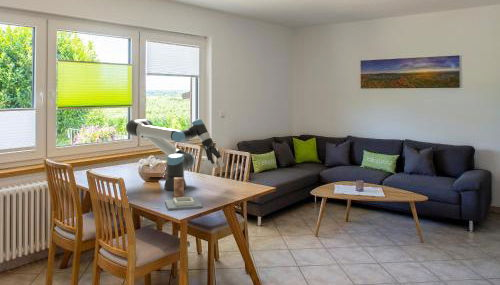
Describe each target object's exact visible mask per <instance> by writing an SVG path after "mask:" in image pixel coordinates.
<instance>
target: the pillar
mask: <svg viewBox="0 0 500 285" xmlns="http://www.w3.org/2000/svg"><path fill="white" fill-rule="evenodd" d="M184 179H185V178H184ZM184 179H183V177H175V178H174V191H173V196H174V197H173V198H177V197H185V189H184Z"/></svg>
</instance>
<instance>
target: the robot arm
mask: <svg viewBox="0 0 500 285" xmlns="http://www.w3.org/2000/svg"><path fill="white" fill-rule="evenodd" d="M125 129H126V132H127V133H128V135H130V136H132V137H133V136H134V137H140V138H142V139H143V140H147V141H149V142H150V143H151V144H153V145H154V146H155V147H156V148H157V149H159V150H160V151H161V152H163V153H164V154H165V155H166V156H167V157H166V163H167V178H165V181H164V182H165V183H164V190H166V191H171V192H172V191H173V192H174V178H175V177H183V179H184V190H186V189H187V182H186V179H185V171H187V170H190V169H191V168H193V167H194V165H195V156H194V155H193V154H192V153H191V152H186V151H185V150H183V149H182V148H180V149H179V148H178V147H176V146H175V145H174V144H173V143H171V142H170V141H174V142H175V143H182V142H184V143H187V142H188V141H190V140H192V139H194V138H196V137H197V136H198V139H199V141H200V143H201V144H202V147H203V148H204V150H205V151H204V152H205V154H206V157H207V160H208V161H210V163H211V166H212V168H213V169H214V170H215V169H217V168H218V165H219V166H220V168H222V167H224V166H225V163H224V162H223V160H222V155H221V154H220V152H219V151H218V149H217V148H216V146H215V145H214V141H213V138H212V137H211V135H210V133H209V131H208V129H207V127H206V125H205V123H204V120H203V119H202V118H197V119H195V120H194V121H192V125H191V126H190V127H189V128H187V129H186V128H185V129H181V130H180V129H174V128H173V129H172V128H167V127H160V126H154V125H153V122H152V121H151V120H150V119H148V118H143V117H142V118H139V119H131V120H129V121H128V122H127V124H126V126H125ZM213 156H215V158H216V161H217V162H218V164H217V162H216V161H215V159H214V158H213Z"/></svg>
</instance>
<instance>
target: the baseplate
mask: <svg viewBox="0 0 500 285" xmlns="http://www.w3.org/2000/svg"><path fill="white" fill-rule="evenodd" d="M164 203H165V205H166V208H167V211H177V210H189V209H203V208H204V205H203V204H202V202H201V200H200V199H199V198H198V197H192V196H184V197H177V198H175V197H172V199H164Z"/></svg>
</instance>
